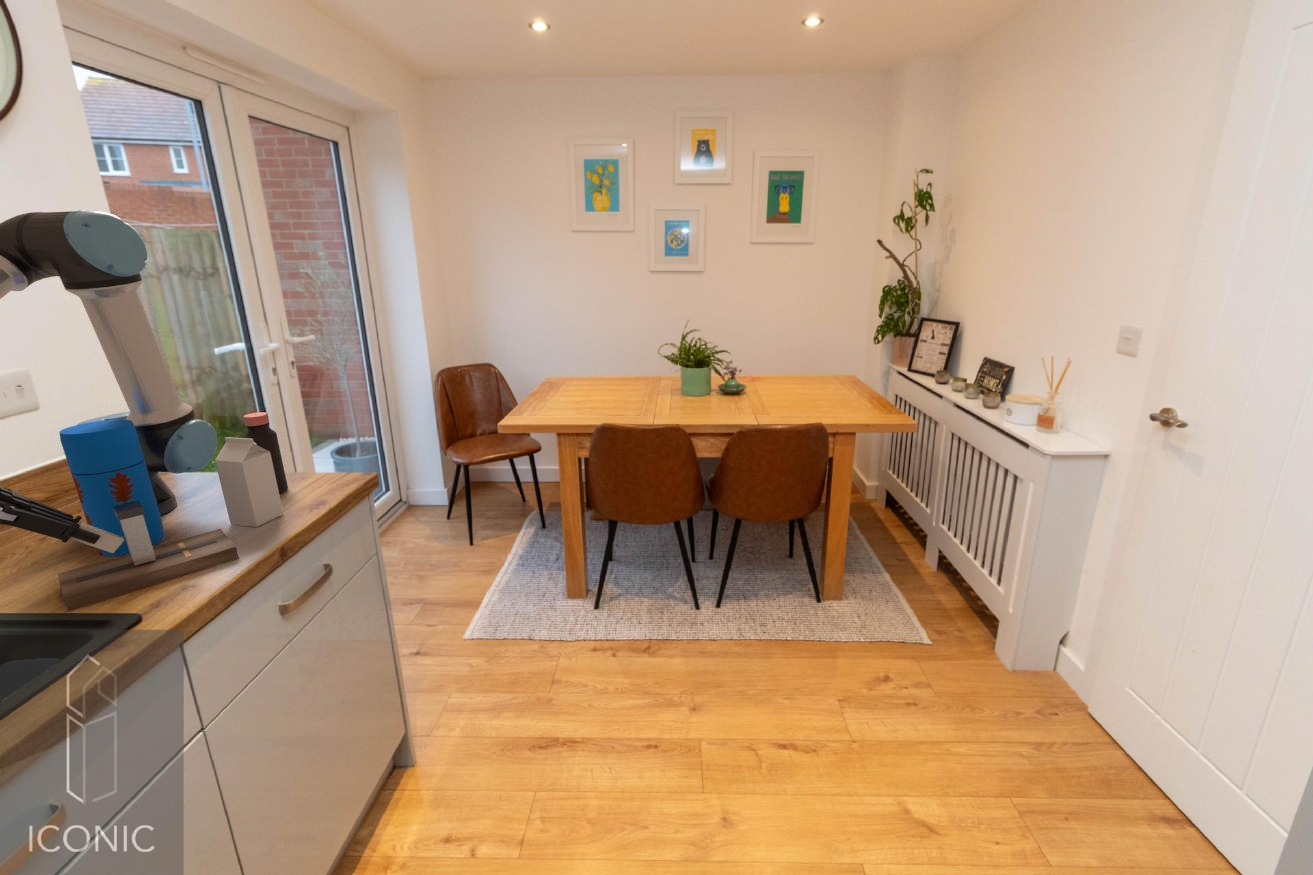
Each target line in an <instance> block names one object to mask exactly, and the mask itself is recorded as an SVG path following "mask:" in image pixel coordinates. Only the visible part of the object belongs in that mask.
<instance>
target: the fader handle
mask: <svg viewBox="0 0 1313 875" xmlns="http://www.w3.org/2000/svg"><path fill="white" fill-rule="evenodd" d="M113 508H114V512H115V514H116V516H117V518H118V520H120V523H121V526H122V530H123V533H124V536H125V539H126V543H127V546H128V549H129V552H130V556H131V559H132V561H133V563H134V565H139V564H142V563H146V562H149V561H152V560H156V558H155V554H154V551H153V547H154V546H152V544H151V540H150V537H149V534H148V530H147V527H146V523H145V520H144V517H143V515H144V514H145V512H144V508H143V506H142V504H141V503H140V501H139V500H138V501H134V502H129V503H125V504H121V505H116V506H113Z"/></svg>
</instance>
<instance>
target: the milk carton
mask: <svg viewBox="0 0 1313 875" xmlns="http://www.w3.org/2000/svg"><path fill="white" fill-rule="evenodd" d="M224 438H225V443H224V445H223V447H222V448H221V449H220V451H219V453H218V455H217V456H216V457H215V459H214V463H215V468H216V471H217V475H218V478H219V482H220V486H221V487H220V488H221V491H222V494H223V499H224V503H225V507H226V511H227V515H228V519H229V523H230V525H233V526H242V527H249V528H250V527H252V528H258V527H260V526H263V525H265V524H266V523H267V522H270V521H272V520H275V519H276V518H278V517H279V516H283V515H284V510H283V506H282V500H281V496H280V495H281V494H279V491H278V486H277V481H276V477H275V472H274V468H273V463H272V458H271V454H270V452H269V451H267V450H265V449H263V448H261V447H259V446H257V445H256V443H255V442H253V439H247V438H243V437H233V436H232V437H229V436H228V437H227V436H225V437H224Z"/></svg>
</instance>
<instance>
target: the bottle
mask: <svg viewBox="0 0 1313 875" xmlns="http://www.w3.org/2000/svg"><path fill="white" fill-rule="evenodd" d="M242 417H243V422H244V425H245V428H247V431H246V433H245V434H244V436H243V437H242V438H247V439H253V442H255V443H256V445H257V446H259V447H261V448H263V449H265V450H267V451H269V452H270V454H271V458H272V463H273V468H274V472H275V477H276V481H277V486H278V491H279V495H282V494H284V493H286V492H288V490H289V485H288V481H287V477H286V476H287V475H286V471H285V466H284V462H283V457H282V452H281V448H280V444H279V438H278V435H277V432H276V431H275V430H273V429H272V428H270V419H269V413H268V412H261V411H260V412H253V413H252V412H251V413H247V414H245V415H243V416H242Z"/></svg>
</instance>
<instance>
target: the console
mask: <svg viewBox="0 0 1313 875" xmlns="http://www.w3.org/2000/svg"><path fill="white" fill-rule="evenodd" d="M152 547H153V551H154V554H155V558H156V560H152V561H149V562H146V563H142V564H139V565H134V563H133V561H132V559H131V556H130V554H126V555H120V556H115V557H113V558H109V559H106V560H103V561H100V562H95V563H92V564H89V565H84V566H81V567H77V568H74V569H70V570H67V571H66V570H65V571H63V572H60V573H57V576H58V579H59V586H60V589H61V595H62V600H63V602H64V604H65V607H66V610H67V612H71V611H75V610H78V609H81V608H84V607H87V606H91V605H95V604H97V603H100V602H103V601H106V600H111V599H112V598H117V597H119V596H123V595H126V594H129V593H131V592H132V593H133V592H135V591H139V590H141V589H145V588H147V587H151V586H155V585H157V584H161V583H164V582H167V581H171V580H173V579H174V580H175V579H177V578H180V577H183V576H187V575H189V574H193V573H196V572H199V571H204V570H205V569H209V568H212V567H216V566H219V565H222V564H225V563H229V562H232V561H234V560H237V559H240V557H239V553H238V549H237V546H236V545H235V543H233V541H232V540H231V539H230V538H229V537H228V536H227V534H226V533H225V532H224V531H223V530H222V529H221V528H218V529H215V530H210V531H206V532H203V533H200V534H196V535H193V536H189V537H186V538H182V539H179V540H174V541H171V542H167V543H165V544H160V545H157V546H156V545H155V546H152Z"/></svg>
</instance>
